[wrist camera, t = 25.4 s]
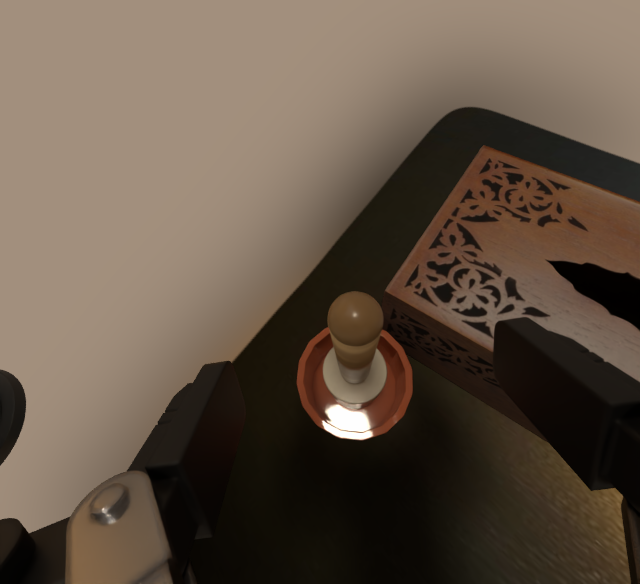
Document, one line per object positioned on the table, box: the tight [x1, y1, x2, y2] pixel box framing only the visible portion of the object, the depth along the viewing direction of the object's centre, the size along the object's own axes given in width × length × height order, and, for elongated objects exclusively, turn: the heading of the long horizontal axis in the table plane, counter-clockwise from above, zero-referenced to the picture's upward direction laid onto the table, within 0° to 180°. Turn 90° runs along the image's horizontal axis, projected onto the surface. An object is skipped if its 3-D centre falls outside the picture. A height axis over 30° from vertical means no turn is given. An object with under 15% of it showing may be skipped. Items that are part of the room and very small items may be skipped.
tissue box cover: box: [381, 145, 640, 442], centre depth 22 cm, size 26×14×10 cm, turn 54°
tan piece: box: [323, 291, 387, 409], centre depth 18 cm, size 4×4×18 cm
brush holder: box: [297, 327, 413, 441], centre depth 24 cm, size 8×8×6 cm
